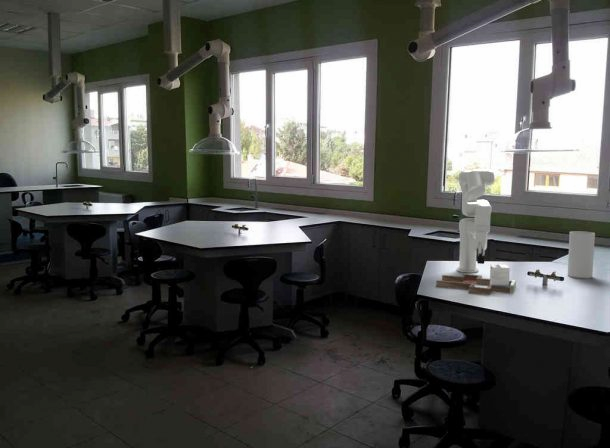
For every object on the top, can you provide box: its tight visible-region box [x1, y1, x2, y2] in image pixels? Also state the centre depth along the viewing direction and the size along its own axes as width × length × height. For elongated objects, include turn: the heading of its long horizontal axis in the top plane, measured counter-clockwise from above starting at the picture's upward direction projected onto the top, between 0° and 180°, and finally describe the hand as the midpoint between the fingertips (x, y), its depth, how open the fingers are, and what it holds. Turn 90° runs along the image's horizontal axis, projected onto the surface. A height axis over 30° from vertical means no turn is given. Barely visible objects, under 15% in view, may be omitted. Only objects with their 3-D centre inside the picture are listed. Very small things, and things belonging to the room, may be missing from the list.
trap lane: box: [435, 273, 517, 296], centre depth 273 cm, size 31×38×4 cm
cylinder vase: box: [567, 230, 596, 280], centre depth 296 cm, size 12×12×25 cm
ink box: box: [489, 261, 511, 287], centre depth 269 cm, size 9×8×13 cm
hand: (480, 263), depth 272 cm, fingers closed
